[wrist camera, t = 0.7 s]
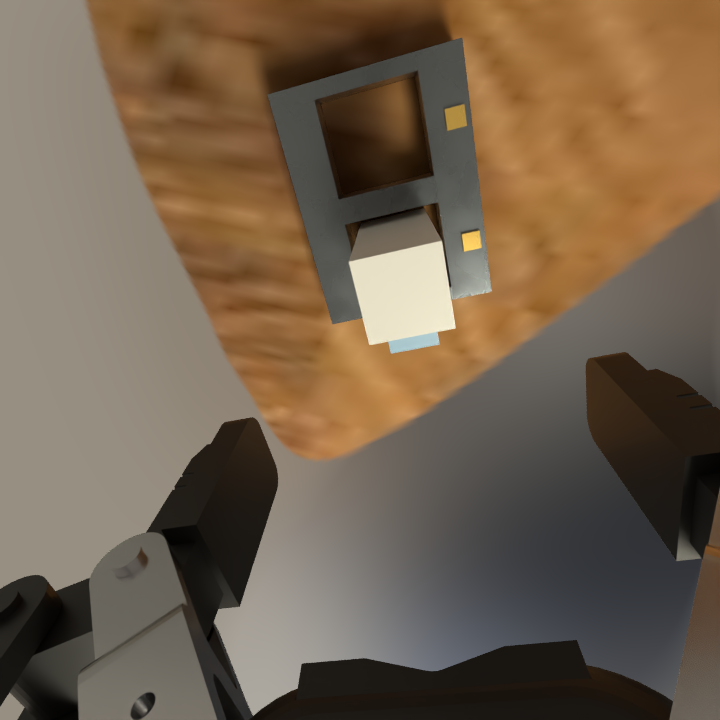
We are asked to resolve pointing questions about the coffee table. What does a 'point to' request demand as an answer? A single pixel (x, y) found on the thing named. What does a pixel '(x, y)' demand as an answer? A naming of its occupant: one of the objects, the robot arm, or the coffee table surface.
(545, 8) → the coffee table surface
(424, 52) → the panel
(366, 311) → the plug
